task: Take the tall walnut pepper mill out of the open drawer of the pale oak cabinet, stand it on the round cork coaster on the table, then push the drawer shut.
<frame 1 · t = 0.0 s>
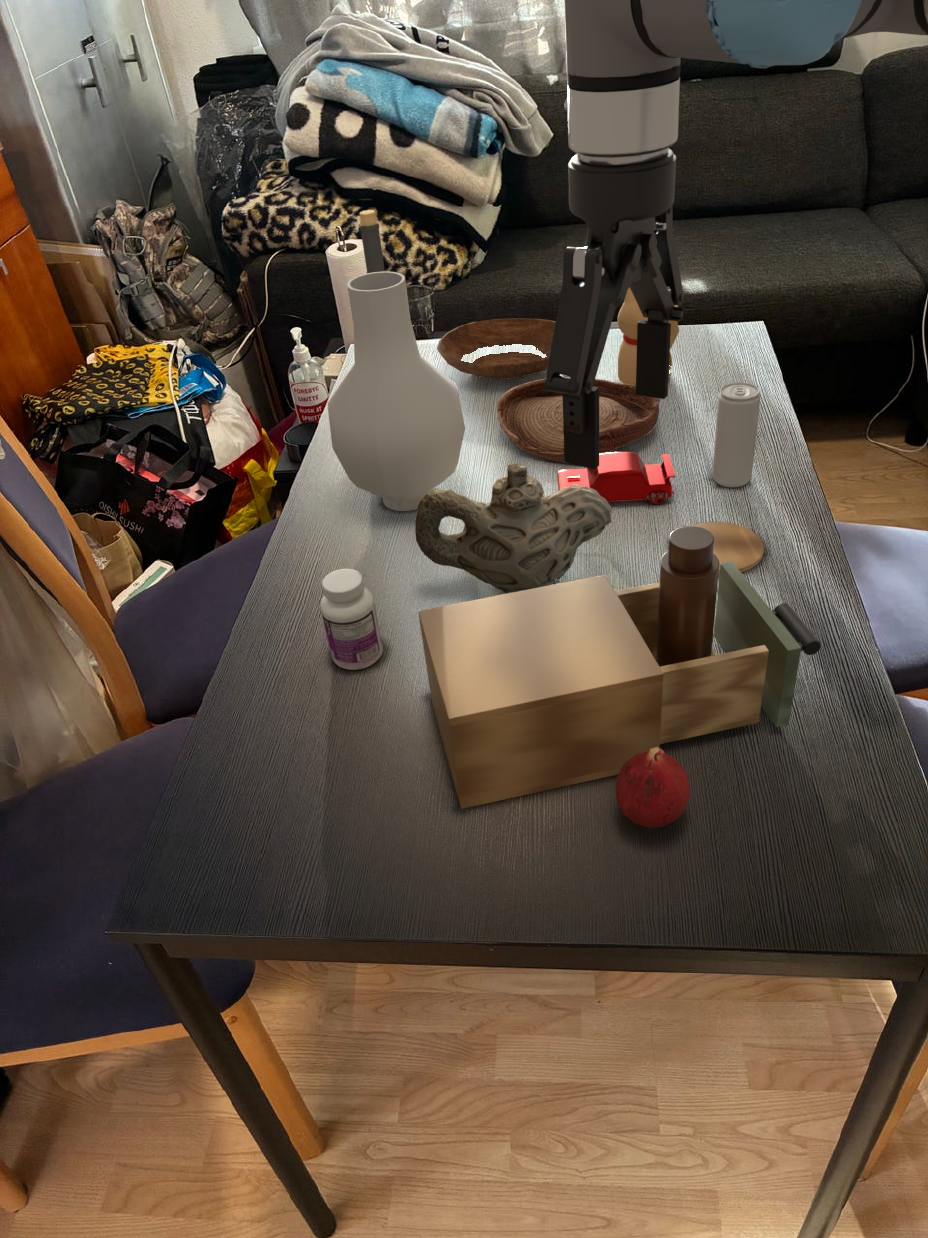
hand: (618, 428, 79), 25 cm above the table, tool pointing down, fingers open, 13 cm apart
pepper mill: (681, 683, 87), point 2 cm above the table, touching drawer
bowl: (507, 370, 152), on the table
pill bottle: (358, 656, 97), on the table
cabinet: (538, 729, 86), on the table
basket: (577, 432, 133), on the table
wine bottle: (398, 425, 140), on the table
figurine: (648, 382, 144), on the table
coaster: (717, 549, 107), on the table
teapot: (518, 584, 105), on the table
toy car: (614, 498, 118), on the table
vase: (407, 499, 122), on the table
beverage can: (731, 481, 119), on the table
drawer: (696, 653, 85), point 5 cm above the table, slide at 11.0 cm, touching pepper mill
red pomegranate: (650, 821, 77), on the table
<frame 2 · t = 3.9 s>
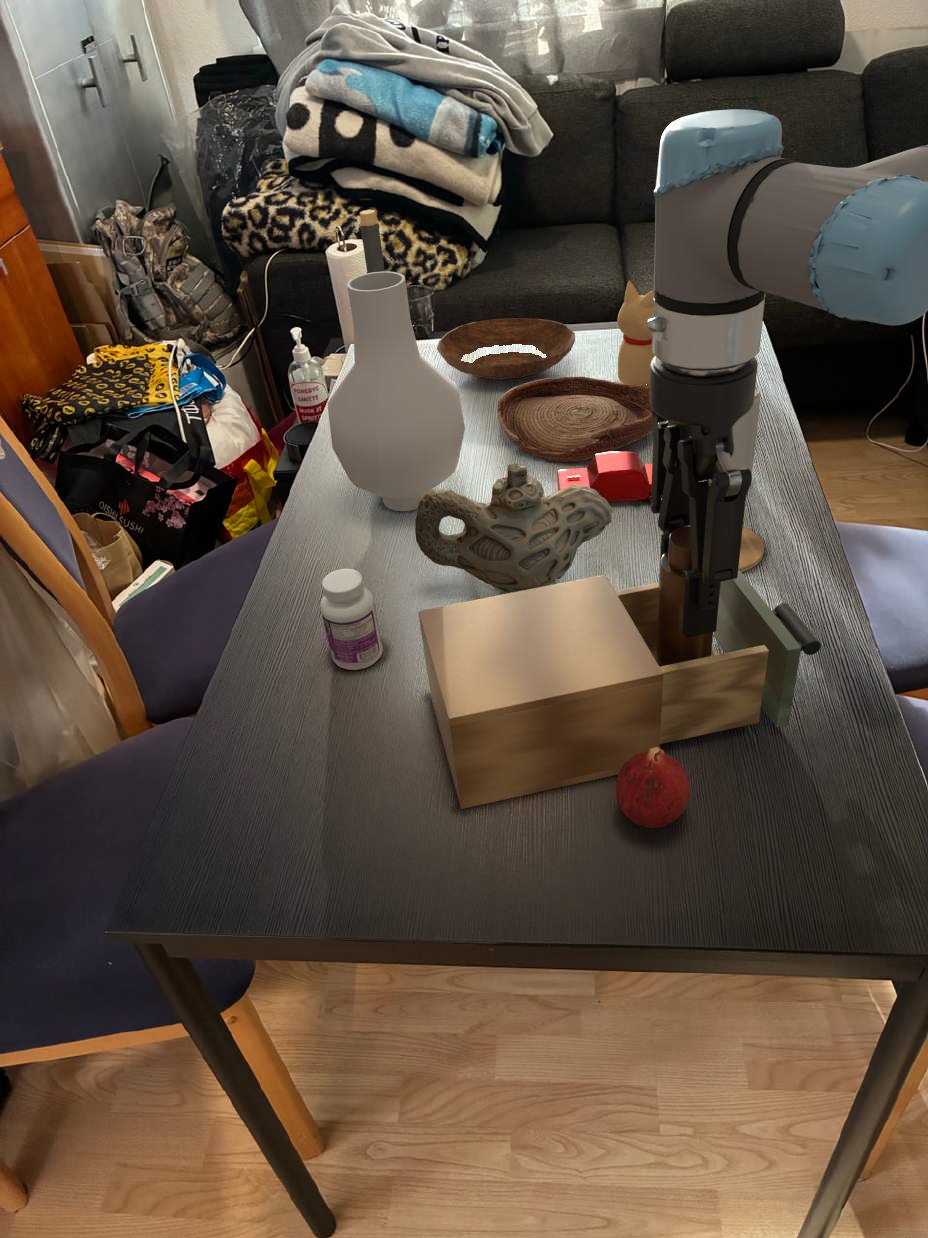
hand: (686, 612, 82), 10 cm above the table, tool pointing down, fingers closed on pepper mill, 5 cm apart
pepper mill: (681, 683, 87), point 2 cm above the table, touching drawer, gripper
everything else where it was.
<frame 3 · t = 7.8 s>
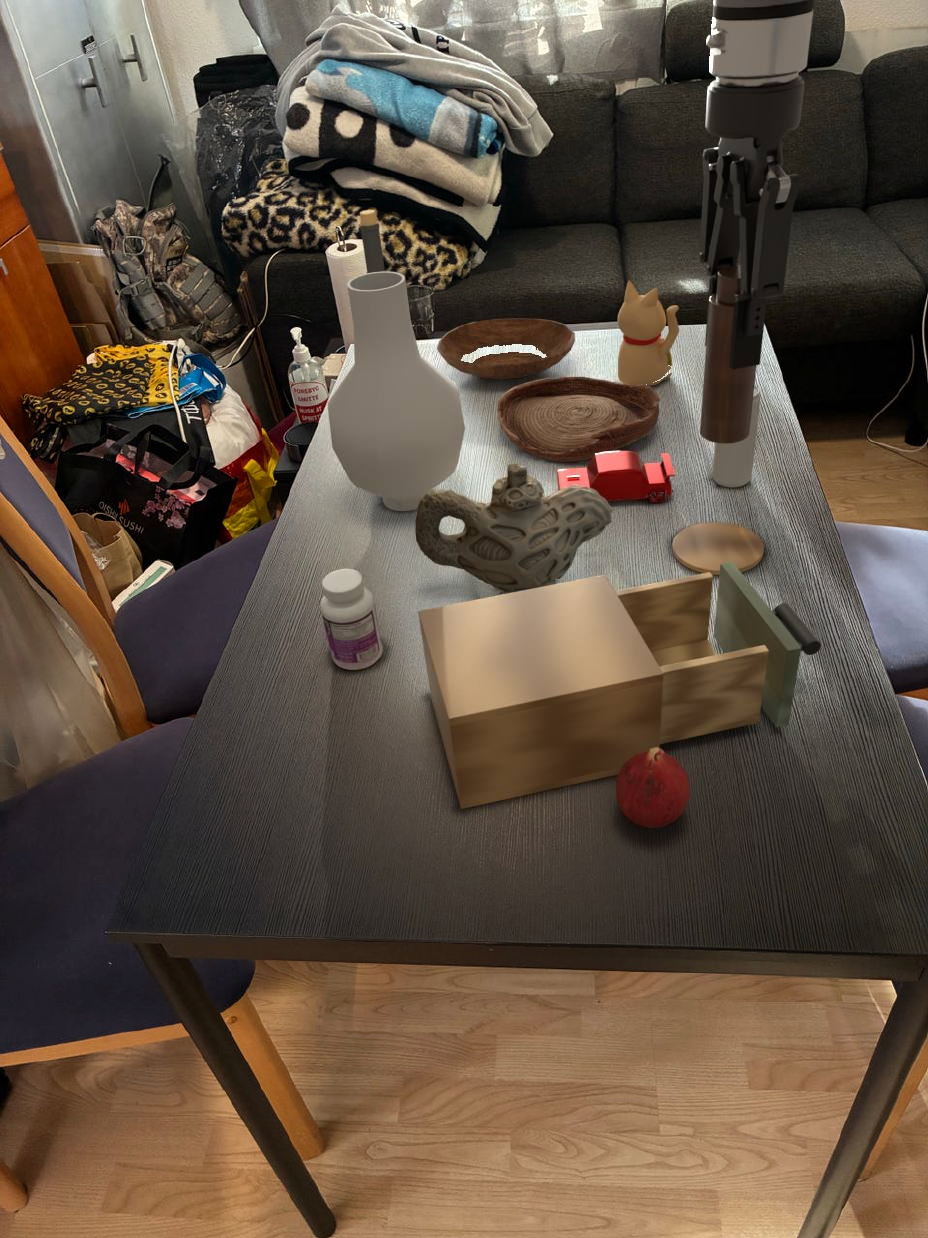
hand: (731, 354, 90), 24 cm above the table, tool pointing down, fingers closed on pepper mill, 5 cm apart
pepper mill: (724, 432, 95), point 16 cm above the table, touching gripper
drawer: (696, 653, 85), point 5 cm above the table, slide at 11.0 cm
everything else where it was.
when the fingers open (9 cm above the table, at t = 11.5 s): pepper mill stays where it is, resting on coaster.
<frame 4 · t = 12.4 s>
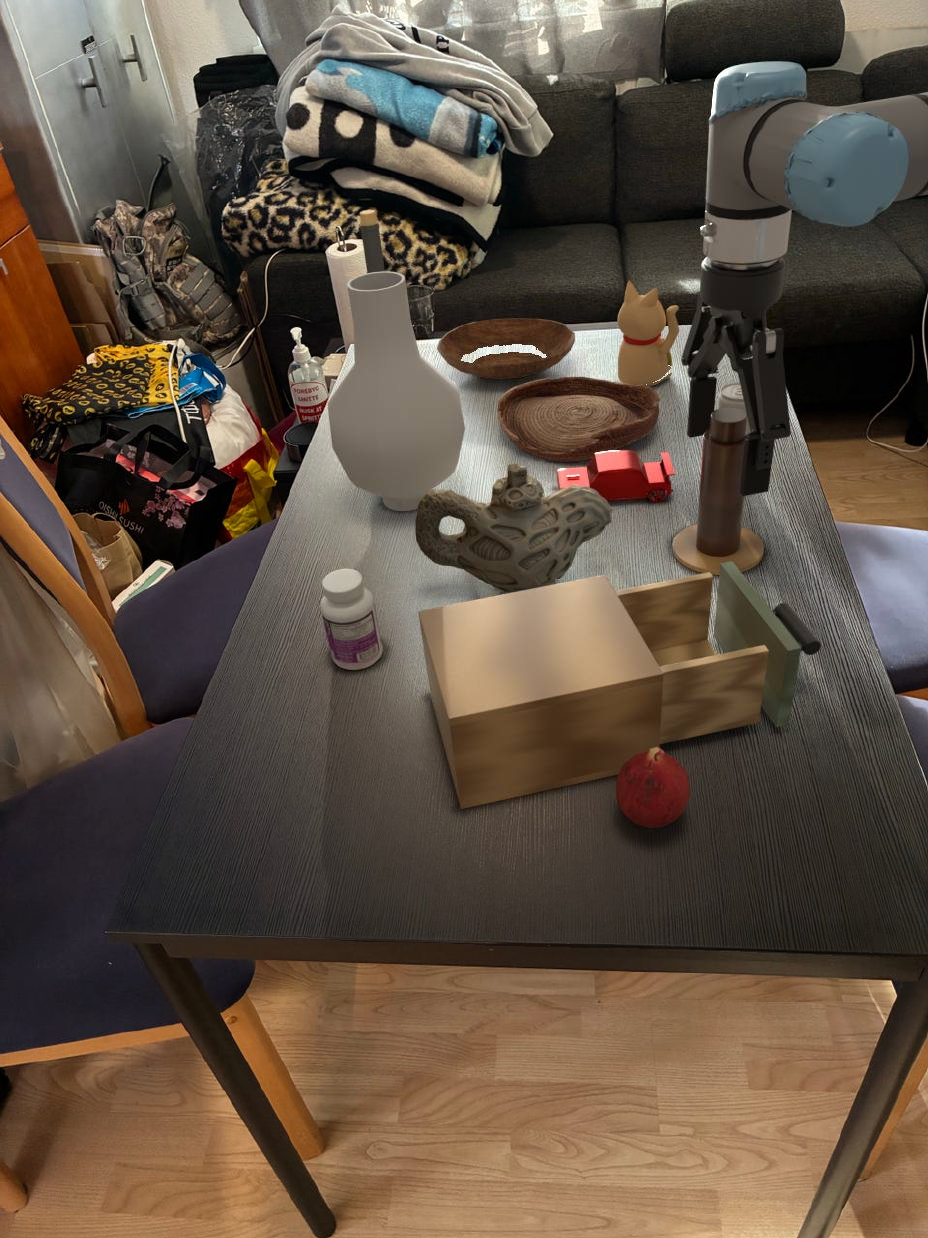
hand: (725, 462, 100), 11 cm above the table, tool pointing down, fingers open, 13 cm apart
pepper mill: (717, 545, 106), point 1 cm above the table, touching coaster
everything else where it was.
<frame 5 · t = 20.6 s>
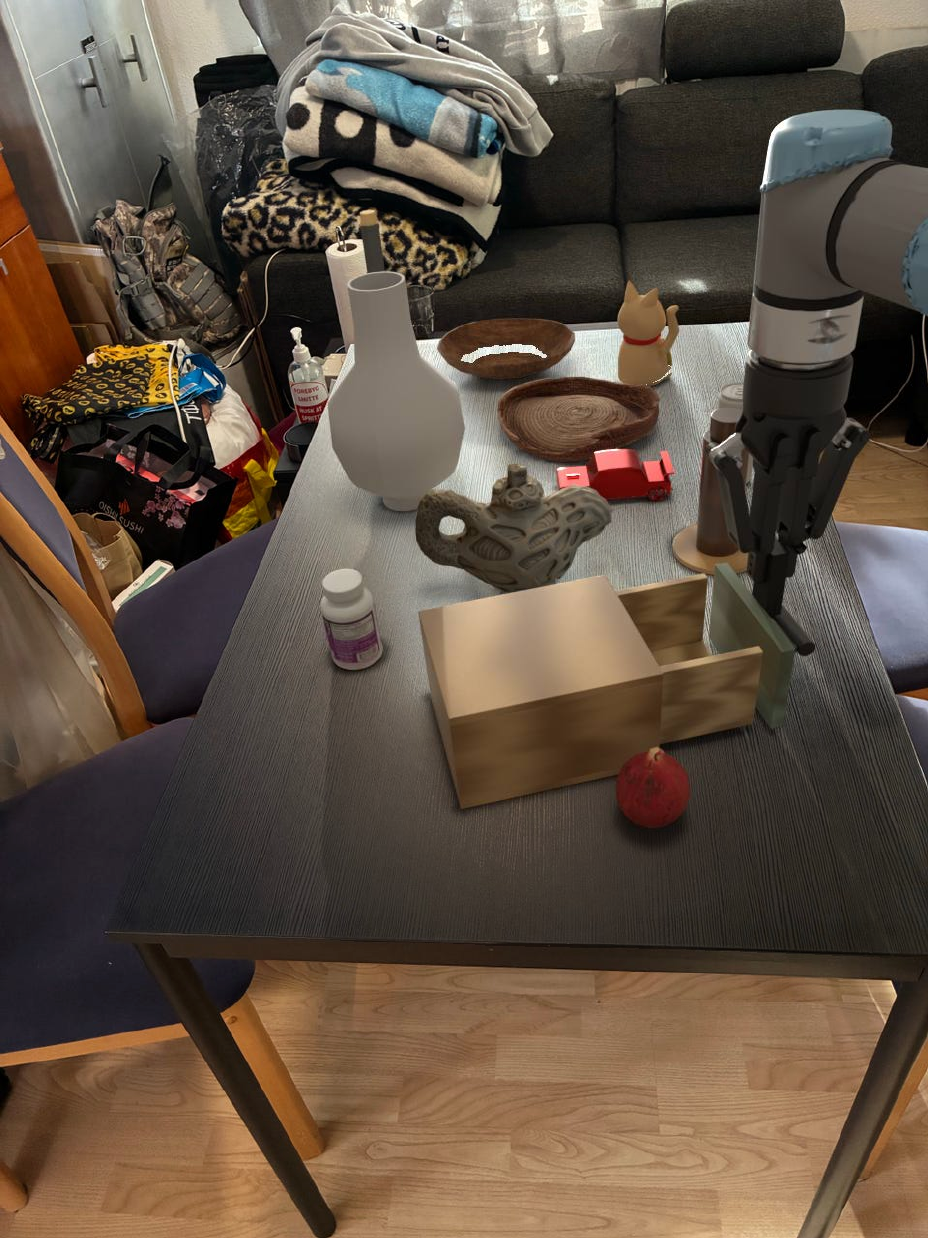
hand: (765, 607, 83), 9 cm above the table, tool pointing down, fingers closed
drawer: (690, 654, 85), point 5 cm above the table, slide at 10.5 cm, touching gripper
everything else where it was.
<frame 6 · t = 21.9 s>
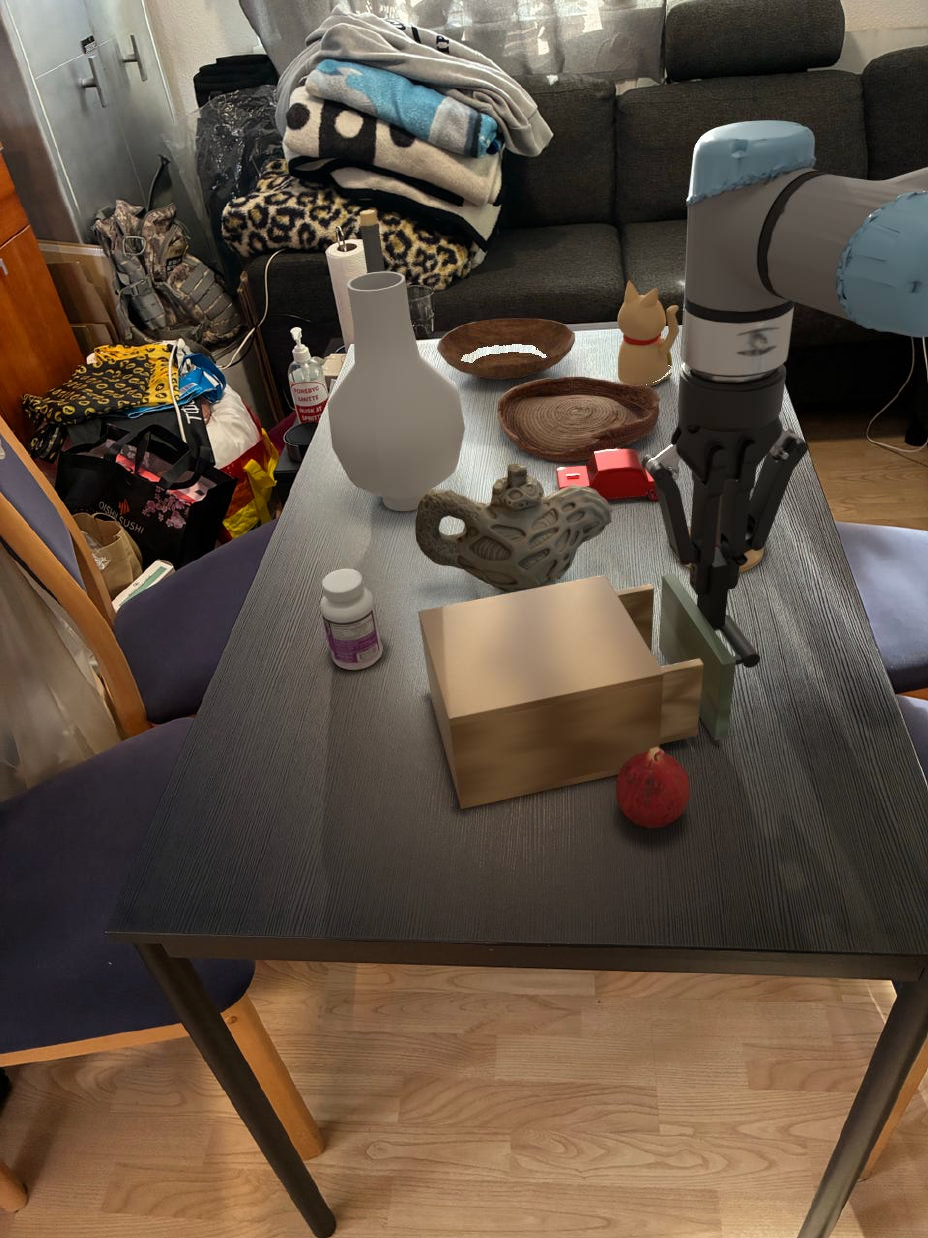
hand: (710, 618, 83), 9 cm above the table, tool pointing down, fingers closed
drawer: (635, 666, 84), point 5 cm above the table, slide at 5.3 cm, touching gripper
everything else where it was.
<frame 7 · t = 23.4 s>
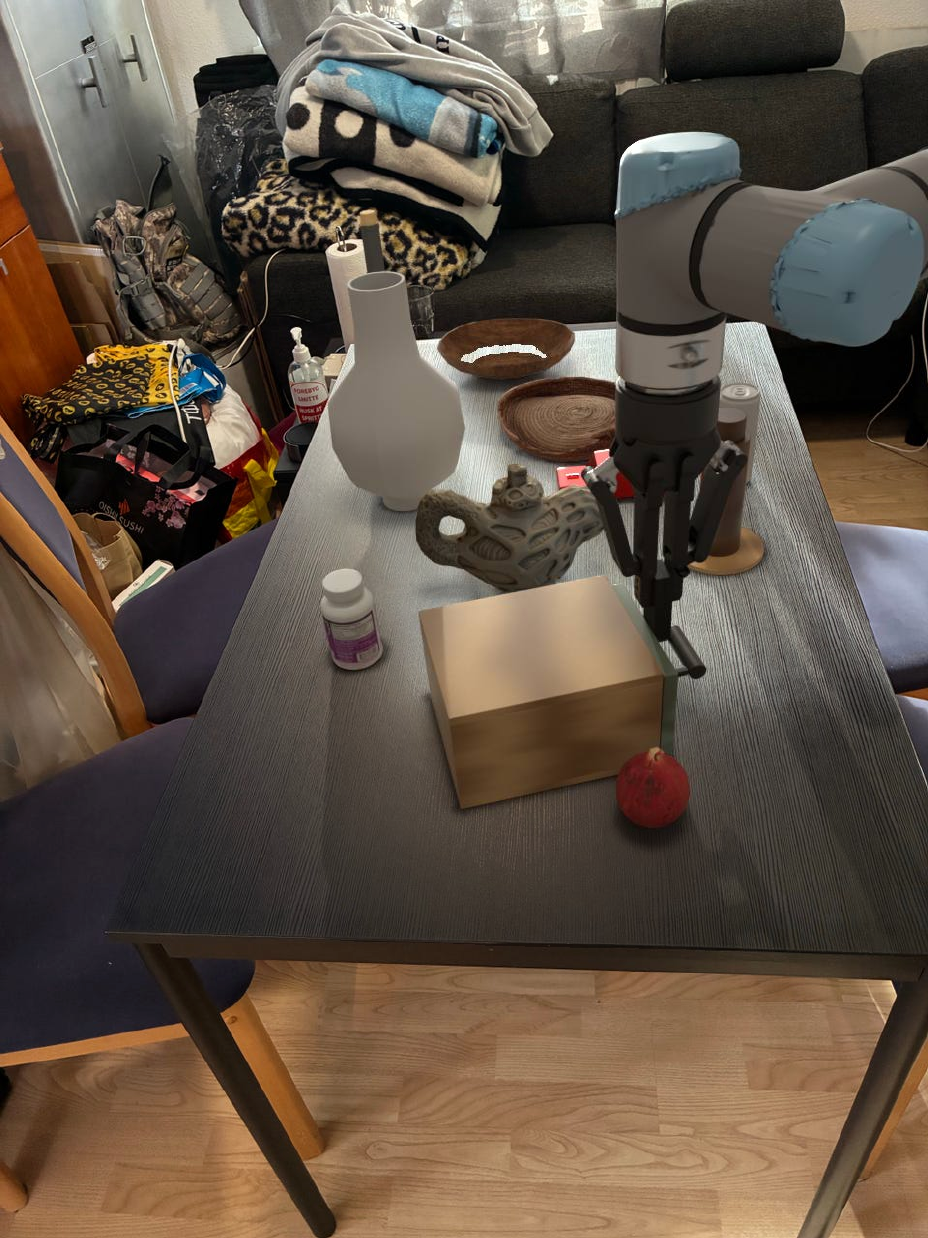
hand: (656, 630, 82), 9 cm above the table, tool pointing down, fingers closed
drawer: (582, 677, 84), point 5 cm above the table, slide at 0.3 cm, touching gripper
everything else where it was.
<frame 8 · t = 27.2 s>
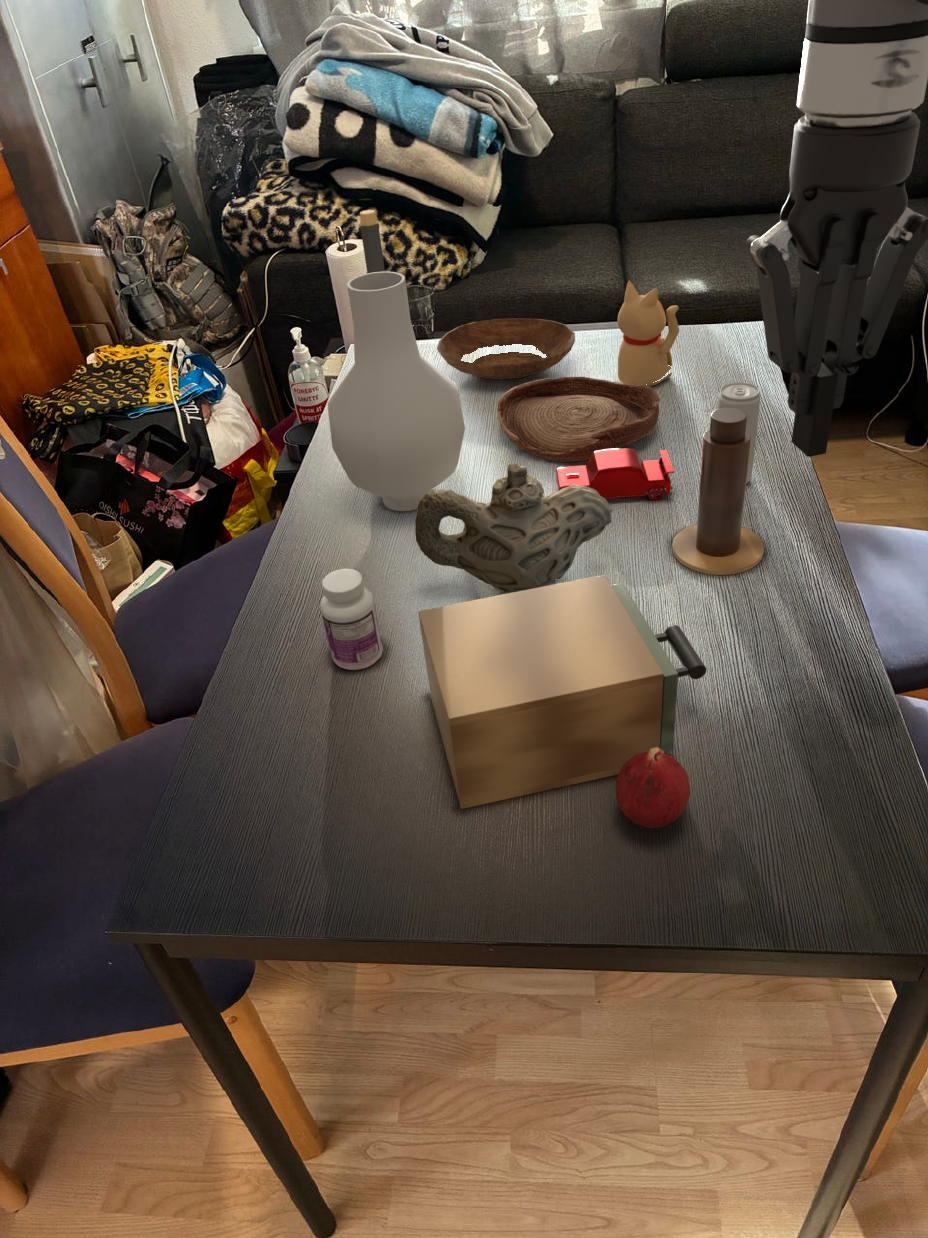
hand: (808, 447, 74), 24 cm above the table, tool pointing down, fingers closed
drawer: (582, 677, 84), point 5 cm above the table, slide at 0.3 cm
everything else where it was.
at the end: pepper mill inside the target area on the coaster (0.0 cm from its centre), point 0.6 cm above the coaster's base; pepper mill tilted 0°; drawer slide at 0.3 cm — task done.
